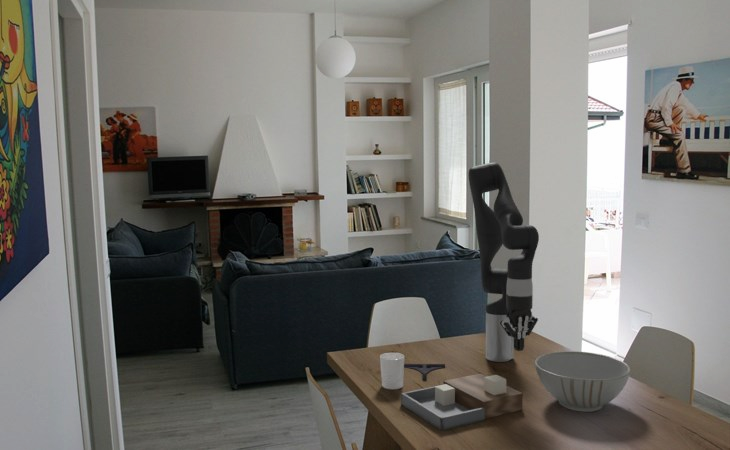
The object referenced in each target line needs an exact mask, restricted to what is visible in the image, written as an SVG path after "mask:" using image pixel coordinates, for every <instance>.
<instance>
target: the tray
mask: <svg viewBox="0 0 730 450" xmlns="http://www.w3.org/2000/svg"><path fill="white" fill-rule="evenodd" d="M435 386H436V385H435ZM435 386H429V387H425V388H419V389H415V390H411V391H404V392H401V393H400V405H401V406H402V407H404V408H405V409H408V411H411V412H412V413H414V414H415V415H416V416H418V417H420V418H421V419H423V420H425V421H426V422H428V423H429V424H431V425H432V426H433V427H435V428H437V429H438V430H440V431H446V430H451V429H454V428H459V427H462V426H463V427H464V426H466V425H472V424H475V423H479V422H482V421H485V408H483V407H482V408H478V409H473V410H469V409H467V408H465V407H464V406H462V405H460V404H458V403H456V402H455V403H453V404H449V405H445V406H443V405H442V404H440V403H438V402H436V401H435Z"/></svg>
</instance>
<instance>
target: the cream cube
mask: <svg viewBox="0 0 730 450" xmlns="http://www.w3.org/2000/svg"><path fill="white" fill-rule="evenodd" d="M435 401H436V402H438V403H440V404H442V405H443V406H445V405H449V404H453V403H455V388H453V387H451V386H449V385H447V384H444V383H443V384H440V385H435Z"/></svg>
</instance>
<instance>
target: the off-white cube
mask: <svg viewBox="0 0 730 450" xmlns="http://www.w3.org/2000/svg"><path fill="white" fill-rule="evenodd" d="M506 386H507V379H506V378H505V377H503V376H500V375H498V374H492V375H487V377H484V391H486V392H488V393H490V394H492V395H497V394H501V393H506Z"/></svg>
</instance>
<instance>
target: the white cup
mask: <svg viewBox="0 0 730 450" xmlns="http://www.w3.org/2000/svg"><path fill="white" fill-rule="evenodd" d="M379 359H380V362H379V363H380V364H379V365H380V377H381V386H382V388H384V389H386V390H399V389H401V388H403V387H404V375H405V367H404V364H405V355H404V354H402V353H401V352H386V353H382V354H380V355H379Z"/></svg>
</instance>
